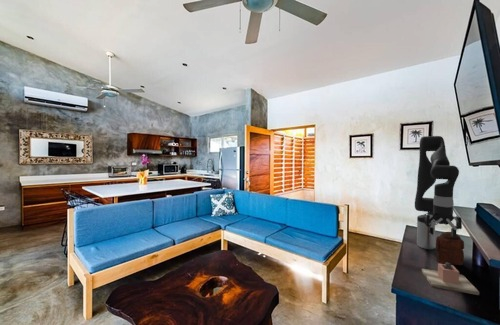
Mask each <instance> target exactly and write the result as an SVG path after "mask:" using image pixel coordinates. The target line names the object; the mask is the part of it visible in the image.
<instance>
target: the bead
mask: <svg viewBox="0 0 500 325" xmlns="http://www.w3.org/2000/svg"><path fill="white" fill-rule="evenodd" d="M437 271H438V276H439V277H440V278H441V280H442V281H444V282H450V283H456V284H459V274H460V271H459V270H458V269H457V268H456V267H455V266H454V265H452V264H451V270H450V269H445V264H444V263H440V262H438V263H437Z"/></svg>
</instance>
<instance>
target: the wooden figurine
mask: <svg viewBox="0 0 500 325" xmlns="http://www.w3.org/2000/svg"><path fill="white" fill-rule="evenodd" d="M464 249H465V241H464V239H462V238H461V237H460V235H458V234H457V233H456V236H455V237H452V236H451V231H444V232H442V233H441V234H440V235H439V236H437V237H435V251H436V252H437V254H436V258H435V259H436V260H435V261H437V262H438V263H439V264H445V263H446V262H447V263H450V264H451V265H453V266H454V265H455V266H462V265H463V263H464V259H465V258H464V257H465V252H464Z"/></svg>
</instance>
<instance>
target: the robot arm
mask: <svg viewBox="0 0 500 325" xmlns="http://www.w3.org/2000/svg"><path fill="white" fill-rule="evenodd" d="M446 150H447V149H446V143H445V139H444V137H443V136H439V135H430V136H429V135H426V136H422V137H421V138H420V140H419V160H418V161H419V163H418V169H417V181H416V183H417V185H416V192H415V198H414V209H415V210H416V211H418V212H426V213H423V214H419V215H418V216H417V219H416V222H417V223H416V245H417V246H418V247H419V248H421V249H424V250H435V249H436V226H438V224H439V225H449V227H451V228H450V232H451V236H452V237H455V236H456V234H457V230H462V228H463V226H462V225H463V224H462V217H460V216H459V215H456V216H454V187H455V184H456V182H457V179H458V178H459V174H460V170H459V167H457V166H455V165H451V163H450V160H449V158H448V155H447V151H446ZM427 152H433V153H432V154H431V156H430V159H429V157H428V155H427ZM437 180H446V181H445V182H443V183H441V182H440V183H436V181H437ZM435 183H436V184H435ZM434 184H435V185H434ZM433 185H434V189H433V190H434V192H433V193H434V194H433V197H424V195H425V194H426V192H427V191H428V190H429V189H430V188H431V187H433ZM453 220H455V225H454V223H453Z"/></svg>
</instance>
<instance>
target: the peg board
mask: <svg viewBox="0 0 500 325" xmlns="http://www.w3.org/2000/svg"><path fill="white" fill-rule="evenodd" d="M451 265H452V264H450V263H447V262H446V263H445V269H450V270H451ZM421 273H422V274H423V275H424V277H425V279H426V280H427V282H428V283H429V284H430V286H431V287H432V286H433V288H438V289H444V290H449V291H453V292H459V293H464V294H470V295H476V296H480V291H479V290H478V289H477V287H475V286H474V285H473V284H472V283H471V282H470V281H469V280H468V279H467V278H466V276H465V275H463V274H460V273H459V284H456V283H450V282H444V281H442V280H441V278H440V277H439V276H438V270H434V269H433V270H432V269H427V268H421Z"/></svg>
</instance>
